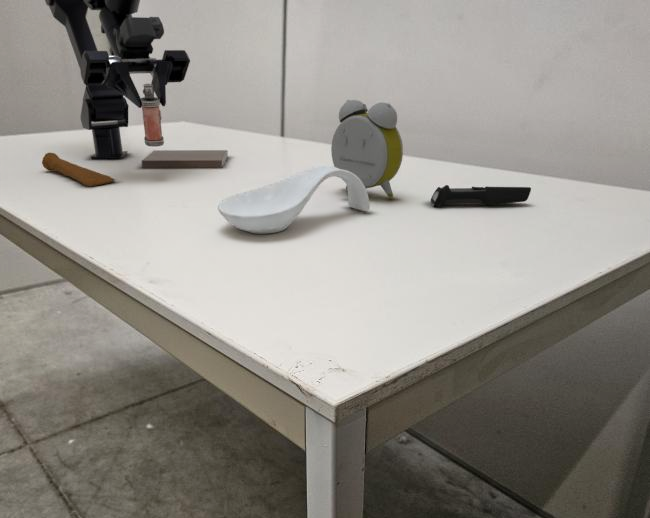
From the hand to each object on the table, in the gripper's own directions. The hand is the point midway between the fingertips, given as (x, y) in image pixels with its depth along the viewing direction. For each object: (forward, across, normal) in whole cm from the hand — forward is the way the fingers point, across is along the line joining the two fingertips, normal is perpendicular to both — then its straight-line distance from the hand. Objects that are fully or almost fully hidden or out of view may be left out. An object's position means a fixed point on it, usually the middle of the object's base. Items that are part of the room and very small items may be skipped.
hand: (152, 105), depth 109 cm
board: (0, +11, +18) cm, 22 cm away
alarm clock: (+31, +23, -14) cm, 41 cm away
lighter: (+4, 0, +6) cm, 7 cm away
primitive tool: (+2, -12, +17) cm, 21 cm away
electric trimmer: (+42, +34, -24) cm, 59 cm away
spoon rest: (+36, +5, -18) cm, 41 cm away
